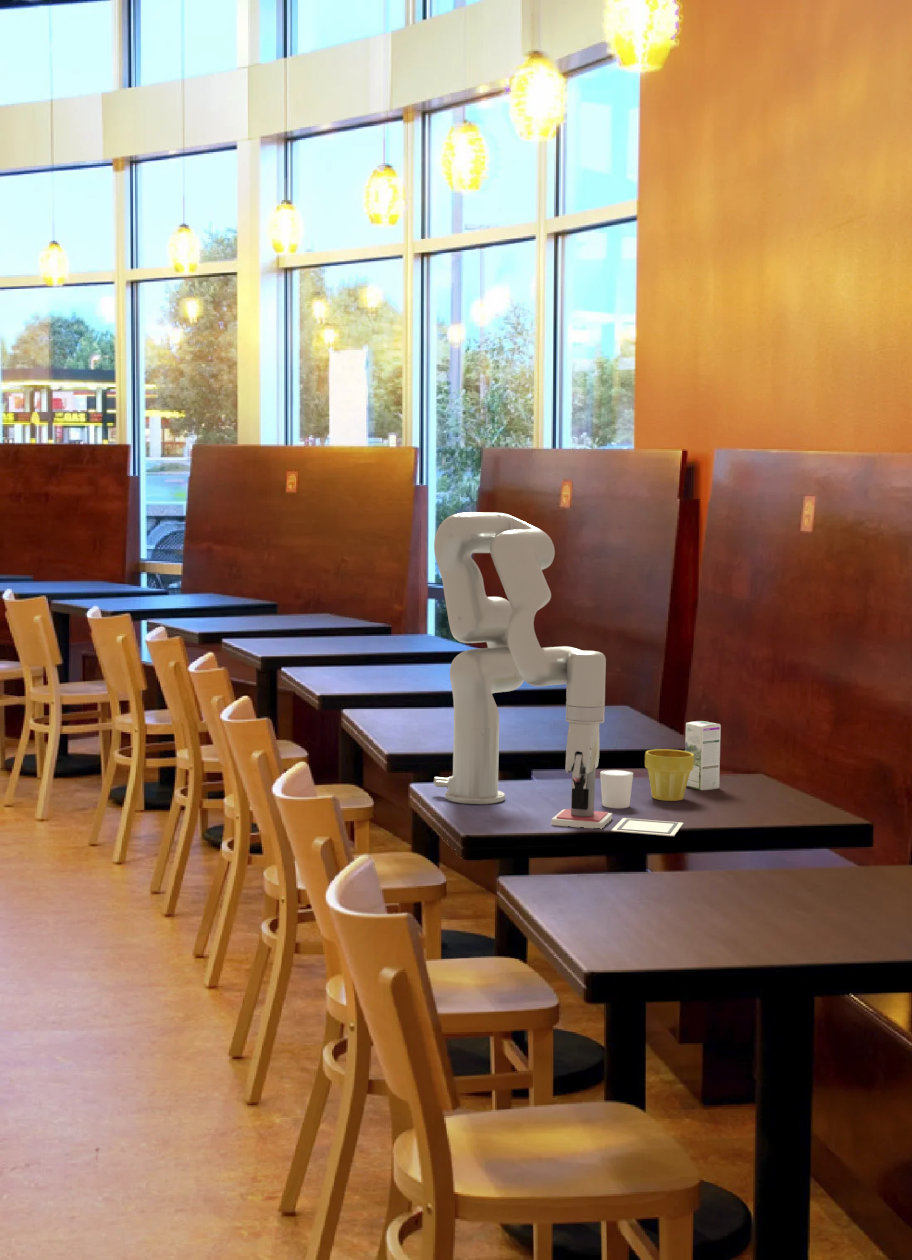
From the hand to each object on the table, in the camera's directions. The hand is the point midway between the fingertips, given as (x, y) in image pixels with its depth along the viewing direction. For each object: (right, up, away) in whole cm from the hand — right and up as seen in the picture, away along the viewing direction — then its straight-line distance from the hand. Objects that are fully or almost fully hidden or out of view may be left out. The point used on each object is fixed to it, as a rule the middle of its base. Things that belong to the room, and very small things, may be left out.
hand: (582, 805), depth 300 cm
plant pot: (+20, -2, +26) cm, 33 cm away
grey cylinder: (0, -2, 0) cm, 2 cm away
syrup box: (+30, -1, +39) cm, 49 cm away
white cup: (+8, -2, +18) cm, 20 cm away
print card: (+12, -4, -4) cm, 13 cm away
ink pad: (0, -3, 0) cm, 3 cm away
